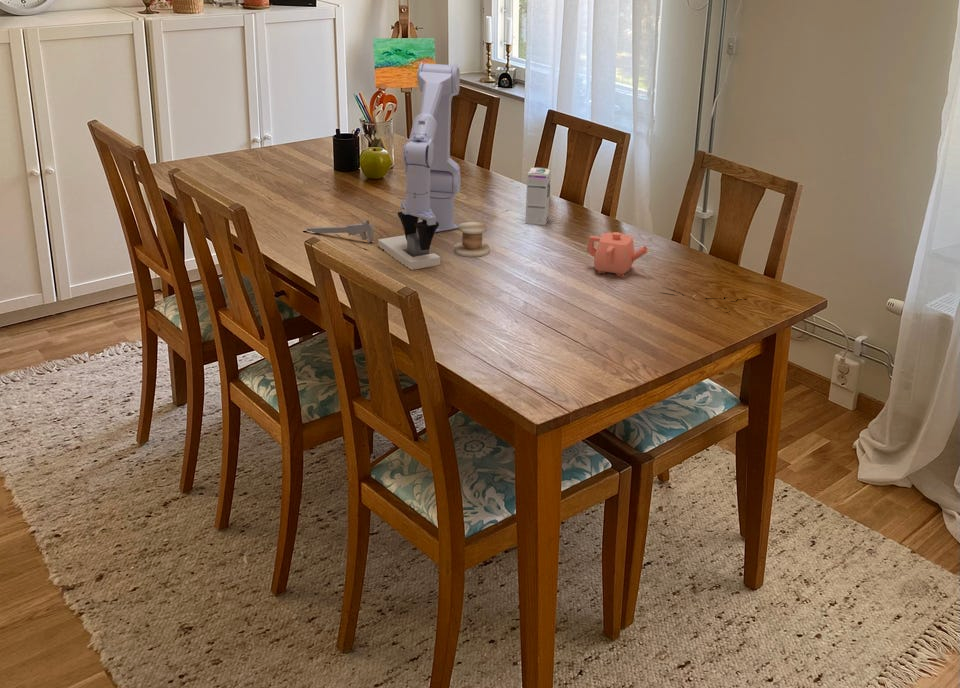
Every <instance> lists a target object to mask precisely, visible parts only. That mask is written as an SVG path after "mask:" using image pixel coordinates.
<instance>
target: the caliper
mask: <svg viewBox="0 0 960 688" xmlns="http://www.w3.org/2000/svg"><path fill="white" fill-rule="evenodd" d="M361 222H362V223H355V224H346V225H344V226H315V227H314V226H313V227H307V228H306V229H305V230H307V231H312V232H315V233H319V234H345V233H346V234H348V236H356V235H359V237H360V238H361V240H362V241H363V240H366V239H367V240H368V239H369V242H370V241H371V242H372V241H375V236H374V233H375V232H374V228H373V225H372V223H370V220H369V219H367V220H365V219H364V220H362V221H361ZM367 236H368V237H367Z"/></svg>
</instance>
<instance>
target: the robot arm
mask: <svg viewBox="0 0 960 688" xmlns="http://www.w3.org/2000/svg"><path fill="white" fill-rule="evenodd" d="M416 73H417V74H416V75H417V76H416V81H417V82H416V83H417V85H418V88H419V92H421V93H422V95H421V103H420V111H419V114H418V115H416V116H415V117H414V118H413V122H412V126H411V131H410V135H409V138H408V142H405V143H404V145H403V150H402V161H403V167H404V168H403V169H404V173H405V184H406V185H405V199H404V200H401V201H400V209H402V210H401V211H397V216H398V218H399V220H400V222H401V225H402V228H403V233H404V235H405V237H406V240H407V235H409V234H415V233H418V234H419V241H420V248H421V250H428V249H429V250H430V249H431V244H432V241H433V238H434V235H435V233H439V232H445V231H450V230H457V229H459V225H460V224H456V223H455V196H456V195H458V194H459V192H460V191H461V185H462V184H461V183H462V177H461V167H460V165H459V164H458V163H457V162H456V161H455V160H454V159H452V158H451V123H452V121H451V120H452V118H451V116H452V100H453V97H454V96H458V95H459V94H460V93H459V92H460V90H461V89H460V86H461V85H460V84H461V83H460V82H461V79H460V78H461V73H460V68H459V66H458V64H453V65H452V64H442V63H441V64H439V63H425V62H421V63H420V64H419V65H418V67H417V71H416ZM419 219H420V220H419Z"/></svg>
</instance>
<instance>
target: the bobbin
mask: <svg viewBox="0 0 960 688" xmlns="http://www.w3.org/2000/svg"><path fill="white" fill-rule="evenodd" d="M458 225H459V228H458V231H459V232H461V235H462V237H461V238H462V239H461V240H462V241H461V242H457V243H455V244H454V246H453V247H454V248H453V251H454V253H455V254H457V256H458V255H459V256H462V257H465V258H466V257H467V258H479V257H484V256H487V255H489V254H490V248H491V247H490V245H489V244H488V243H485V242H483V234H484V233H485V232H487V225H486V224H484V223H482V222H478V221H477V222H476V221H466V222H462V223H459V224H458Z"/></svg>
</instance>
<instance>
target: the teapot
mask: <svg viewBox="0 0 960 688" xmlns="http://www.w3.org/2000/svg"><path fill="white" fill-rule="evenodd" d="M595 242H597V245H596V247H594V246H595ZM586 252H587V253H588V254H590V255H591V256H592V257H593V258H594V259H593V266H594V269H595V270H597V273H598V272H599V273H604V274H606V273H612V274H615V275H618V276H623V275H624V276H625V274H626V273H628V271H630V270H631V268H632V266H633V265H634V262H635V261H636V260H639V258H641V257H643V256H644V255H646V254H647V253H649V249H648V248H647V246H646V245H643V246H642V247H640V248H639V249H638V250H636V251H635V245H634V238H633V236H632V235H630V234H629V235H628V234H624V233H622V232H618V231H614V232H610V231H607V232H605V233H604V234H603V235H602V236H597V235H590V236H589V238H588V243H587V247H586ZM599 273H598V274H599ZM618 276H617V277H618Z"/></svg>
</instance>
